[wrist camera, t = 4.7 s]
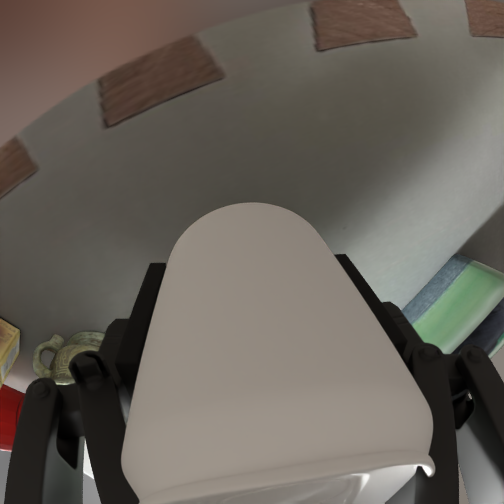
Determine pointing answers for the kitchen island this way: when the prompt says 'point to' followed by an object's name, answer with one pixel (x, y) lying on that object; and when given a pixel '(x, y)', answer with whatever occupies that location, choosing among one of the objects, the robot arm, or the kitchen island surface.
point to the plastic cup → (9, 415)
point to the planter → (461, 307)
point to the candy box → (8, 348)
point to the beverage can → (269, 376)
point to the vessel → (64, 355)
